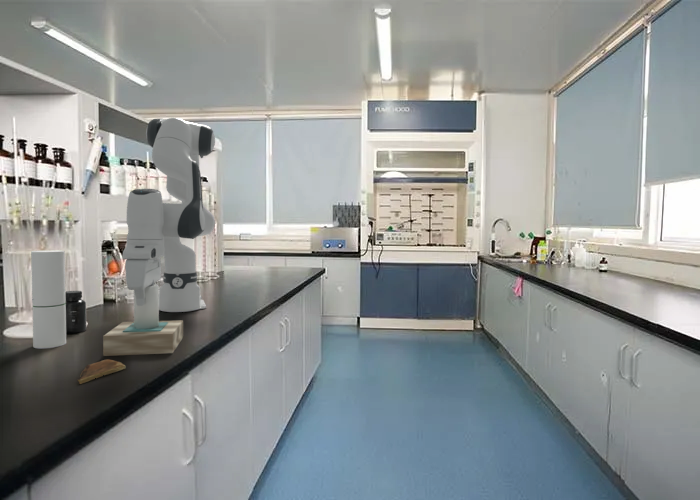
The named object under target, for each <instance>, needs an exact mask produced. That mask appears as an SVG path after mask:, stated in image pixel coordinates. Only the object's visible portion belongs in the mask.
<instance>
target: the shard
mask: <svg viewBox="0 0 700 500" xmlns="http://www.w3.org/2000/svg"><path fill="white" fill-rule="evenodd" d="M123 370H126V365H125V364H124V363H122V361H121V362H120V361H117V360H113V359H109V358H108V359H107V358H106V359H104V360H101V361H97V362H93V363H91V364H87V365H86V366H85V367H84V369H83V370H82V371H81V373H80V376H79V377H78V378H77V380H76V381H77V382H79V385H81V384H85V383H87V382H90V381H93V380H95V378H96V379H98V378H101V377H103V375H104V376H107V375H110V374H112V373H113V374H114V373H116V372H119V371H123Z"/></svg>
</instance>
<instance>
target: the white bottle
mask: <svg viewBox="0 0 700 500" xmlns="http://www.w3.org/2000/svg"><path fill="white" fill-rule="evenodd" d="M159 288H160V286H159V284H157V283H156V284H154V279H153V282H152V284H151V285H150V286H148V287H146V288H145V292H144V295H145V304H144V305H142V306H138V305H137V304H136V296H135V293H134V292H133V322H134V328H136V329H150V328H155V327H158V326H159V321H160V316H159V315H160V314H159V313H160V310H159Z"/></svg>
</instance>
